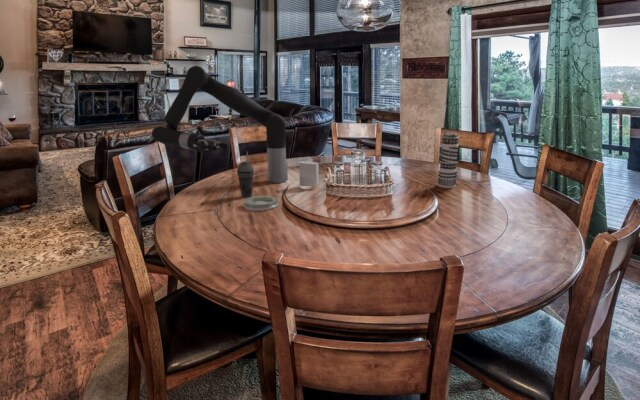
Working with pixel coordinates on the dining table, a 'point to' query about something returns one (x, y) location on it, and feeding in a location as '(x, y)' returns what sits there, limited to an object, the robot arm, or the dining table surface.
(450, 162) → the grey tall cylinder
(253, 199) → the rimmed coaster
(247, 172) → the beverage cup
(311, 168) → the grey upright block
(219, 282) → the dining table surface
